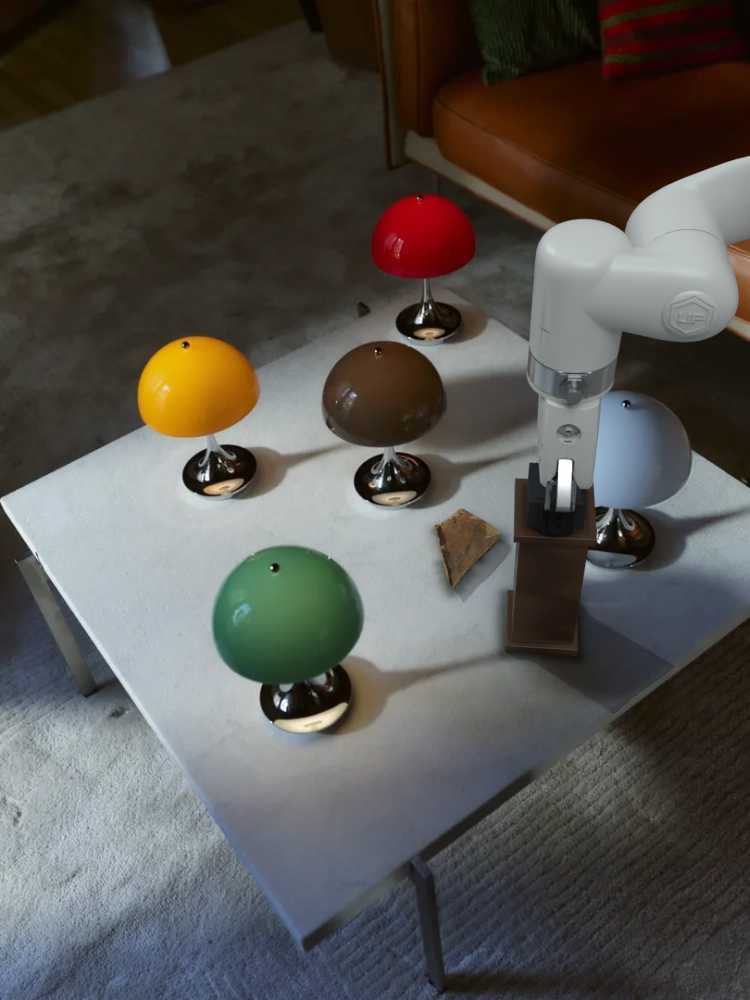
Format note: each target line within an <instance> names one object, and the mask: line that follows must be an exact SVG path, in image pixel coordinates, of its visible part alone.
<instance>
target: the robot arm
mask: <svg viewBox="0 0 750 1000" xmlns="http://www.w3.org/2000/svg"><path fill="white" fill-rule="evenodd" d="M747 240H750V155H747V156H744V157H740V158H736V159H733V160H730V161H726V162H723V163H721V164H718V165H715V166H713V167H709V168H707V169H704V170H702V171H699V172H696V173H693V174H691V175H688V176H685V177H683V178H681V179H678V180H676V181H673V182H672V183H669V184H667V185H665V186H663V187H661V188H660V189H658V190H656V191H654V192H652V193H651V194H650V195H648V196H647V197H646V198H644V200H642V201H641V202H640V203H639V204H638V205H637V206H636V207H635V209H634V210H633V211H632V213H630V216H629V218H628V220H627V222H626V226H625V229H624V231H623V230H621V229H620V228H619V227H617V226H616V225H613V224H611V223H608V222H606V221H603V220H598V219H592V218H577V219H571V220H566V221H563V222H560V223H558V224H555V225H554V226H552V227H551V228H549V229H548V230H547V231H546V232H545V233H544V234H543V235H542V237H541V238H540V240H539V242H538V244H537V247H536V251H535V258H534V268H533V269H534V272H533V285H532V296H531V297H532V298H531V310H530V311H531V313H530V327H529V339H528V351H527V355H528V356H527V365H526V379H527V383H528V384H529V386H530V388H531V389H532V390H533V391H534V392H535V393H537V395H538V398H537V399H538V400H537V401H538V402H537V422H536V423H537V425H536V426H537V429H536V430H537V432H536V433H537V454H538V455H537V456H538V457H537V458H538V463H539V473H540V483H541V484H542V485H543V486H544V487H546V492H545V501H544V502H542V505H541V515H540V525H539V532H540V533H542V534H562V535H570V534H572V533H573V528H574V521H575V513H576V503H575V500H576V487H577V485H578V487H579V488H580V489H589V488H591V486H592V485H593V482H594V476H595V468H596V458H597V448H598V441H599V431H600V422H601V421H600V420H601V409H602V407H601V405H602V398H603V397H604V396H605V395H607V394H609V392H610V391H611V390H612V387H613V386H614V383H615V378H616V370H617V364H618V359H619V352H620V347H621V340H622V335H623V332H624V333H628V334H632V335H637V336H643V337H646V338H651V339H656V340H661V341H667V342H675V343H693V342H699V341H703V340H706V339H709V338H712V337H714V336H716V335H718V334H719V333H721V332H722V331H724V329H726V328H727V327H728V326H729V324H730V323H731V322H732V321H733V319H734V317H735V315H736V312H737V310H738V306H739V302H740V301H739V298H740V293H739V287H738V285H739V284H738V281H737V279H736V278H737V277H736V275H735V271H734V268H733V265H732V262H731V259H730V256H729V255H730V254H729V250H728V248H727V247H728V246H731V245H734V244H737V243H740V242H743V241H747ZM556 472H557V477H554V475H555V474H556ZM572 473H573V474H572ZM552 487H557V492H556V498H551V496H552Z"/></svg>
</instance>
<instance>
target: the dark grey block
mask: <svg viewBox="0 0 750 1000" xmlns="http://www.w3.org/2000/svg"><path fill="white" fill-rule="evenodd" d="M572 474H573V473H572ZM554 477H557V472H556V474H555V475H554ZM527 479H528V484H527V527H539V525H540V515H541V505H542V502H544V501H545V492H546V487H544V486H543V485H542V484H541V483H540V473H539V462H529V463H528V473H527ZM556 492H557V487H552V496H551V498H556ZM575 503H576V513H575V521H574V528H573V529H584V523H585V517H586V510H587V489H580V488H579V487H578V485H577V487H576V500H575Z"/></svg>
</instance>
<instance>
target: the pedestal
mask: <svg viewBox="0 0 750 1000" xmlns="http://www.w3.org/2000/svg"><path fill="white" fill-rule="evenodd" d="M527 484H528V478H520V477H519V478H514V495H513V496H514V497H513V503H514V504H513V538H512V539H513V540H512V541H513V543H514V544H515V555H514V568H513V579H512V580H513V581H512V582H513V583H512V589H507V590H506V612H505V613H506V616H505V617H506V619H505V652H506V653H520V654H534V655H535V654H537V655H551V656H552V655H553V656H569V657H570V656H571V657H578V653H579V637H578V636H579V635H578V615H579V608H580V601H581V596H582V589H583V584H584V578H585V572H586V566H587V559H588V553H589V548H590V547H596V546H597V543H598V533H597V532H598V531H597V517H596V516H597V515H596V497H595V483H594V481H593V485H592V486H591V488H589V489H587V510H586V517H585V523H584V529H573V533H572V534H570V535H562V534H542V533H540V532H539V527H527Z"/></svg>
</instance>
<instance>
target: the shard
mask: <svg viewBox="0 0 750 1000" xmlns="http://www.w3.org/2000/svg"><path fill="white" fill-rule="evenodd" d="M433 528H434V532H435V535H436V538H437V542H438V546H439V550H440V555H441V558H442V563H443V567H444V571H445V575H446V580H447V582H448V585H449V588H451V590H455V588H456V586H457V585H458V584H459V583H460V582H461V580H462V579H463V577H464V576H465V575H466V574H467V572H468V571H470V569H471V567H472V566H473V565H475V564H476V563H477V561H478V560H479V559H480V558H481V557H482V556H483V555H484V554H485V553H486V552H487V551H488V550H489V549H490V548H492V547H493V546H494V544H495V543H496V542H497V541H498V540H499V539H500V537H501V536H502V533H501V531H500V530H499V529H497V528H495V526H493V525H492V524H491V523H489V522H487V521H486V520H484V519H482V518H480V517H479V516H476V515H474V514H473V513H471V512H470V511H468V510H466V509H465V508H458V509H457V510H456V511H455V512H454V513H453V514H452V515H450V517H448V518H447V519H445V520H443V521H442V522H441V523H438V524H435V525H434V527H433Z"/></svg>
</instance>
